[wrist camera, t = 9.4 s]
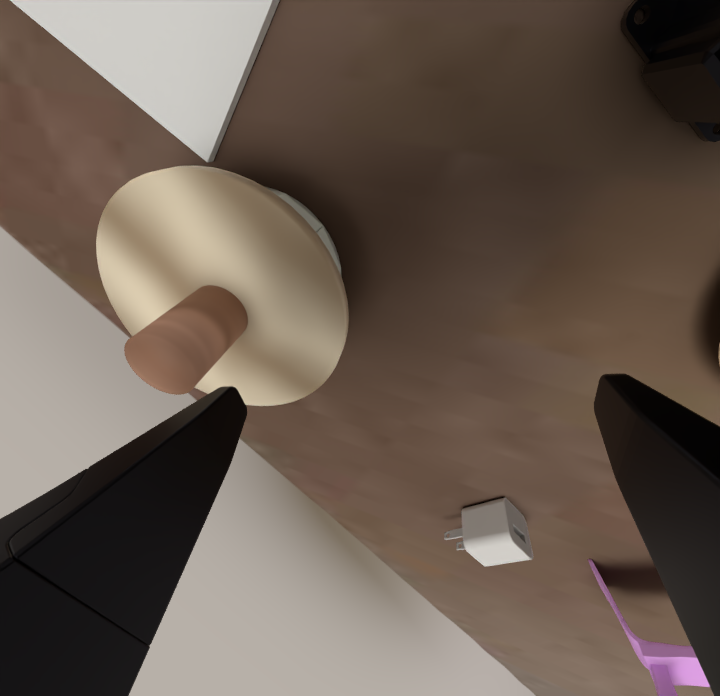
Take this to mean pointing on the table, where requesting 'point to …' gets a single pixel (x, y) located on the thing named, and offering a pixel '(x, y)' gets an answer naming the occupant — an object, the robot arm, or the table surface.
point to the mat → (166, 55)
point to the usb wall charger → (494, 533)
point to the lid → (221, 286)
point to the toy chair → (661, 655)
